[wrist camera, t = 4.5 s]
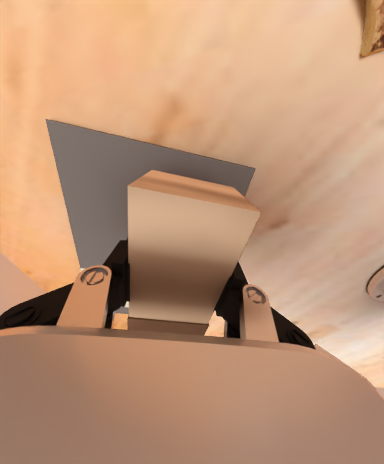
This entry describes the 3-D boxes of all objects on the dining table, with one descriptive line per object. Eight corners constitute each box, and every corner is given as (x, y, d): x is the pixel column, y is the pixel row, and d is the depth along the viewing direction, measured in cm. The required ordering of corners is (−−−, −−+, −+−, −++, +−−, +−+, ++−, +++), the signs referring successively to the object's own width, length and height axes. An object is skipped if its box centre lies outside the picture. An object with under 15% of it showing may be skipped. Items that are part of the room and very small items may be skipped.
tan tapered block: (151, 169, 8) (125, 186, 5) (234, 187, 9) (263, 213, 6) (143, 285, 13) (127, 335, 10) (197, 291, 14) (201, 340, 10)
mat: (252, 167, 15) (255, 168, 14) (195, 314, 27) (196, 318, 27) (51, 120, 12) (44, 118, 11) (92, 307, 25) (90, 312, 24)
